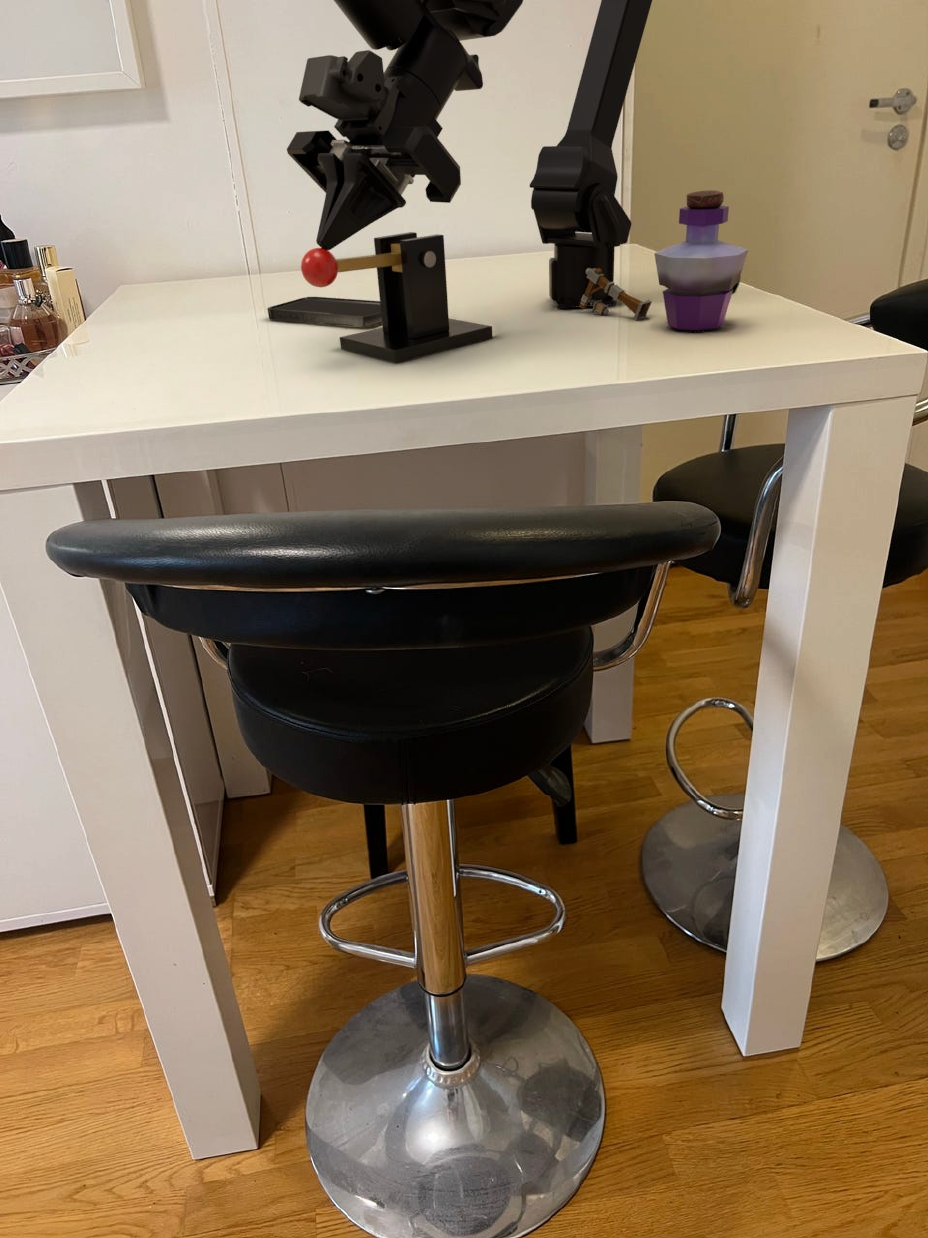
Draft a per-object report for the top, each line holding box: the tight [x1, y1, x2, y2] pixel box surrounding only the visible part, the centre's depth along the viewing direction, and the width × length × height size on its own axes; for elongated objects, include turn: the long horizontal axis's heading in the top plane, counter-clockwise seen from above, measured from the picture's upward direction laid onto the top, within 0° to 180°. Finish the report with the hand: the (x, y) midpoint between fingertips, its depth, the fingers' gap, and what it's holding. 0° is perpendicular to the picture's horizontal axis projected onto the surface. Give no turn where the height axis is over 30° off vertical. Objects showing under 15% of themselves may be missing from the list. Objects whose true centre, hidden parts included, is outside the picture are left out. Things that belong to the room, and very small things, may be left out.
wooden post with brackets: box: [578, 268, 653, 321], centre depth 93 cm, size 2×8×4 cm, turn 48°
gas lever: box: [300, 243, 403, 288], centre depth 80 cm, size 13×3×3 cm, turn 131°
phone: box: [266, 296, 382, 328], centre depth 100 cm, size 8×1×15 cm
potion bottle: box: [654, 189, 749, 334], centre depth 84 cm, size 9×9×12 cm
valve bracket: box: [339, 231, 494, 364], centre depth 85 cm, size 12×9×10 cm
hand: (322, 246), depth 77 cm, fingers closed
